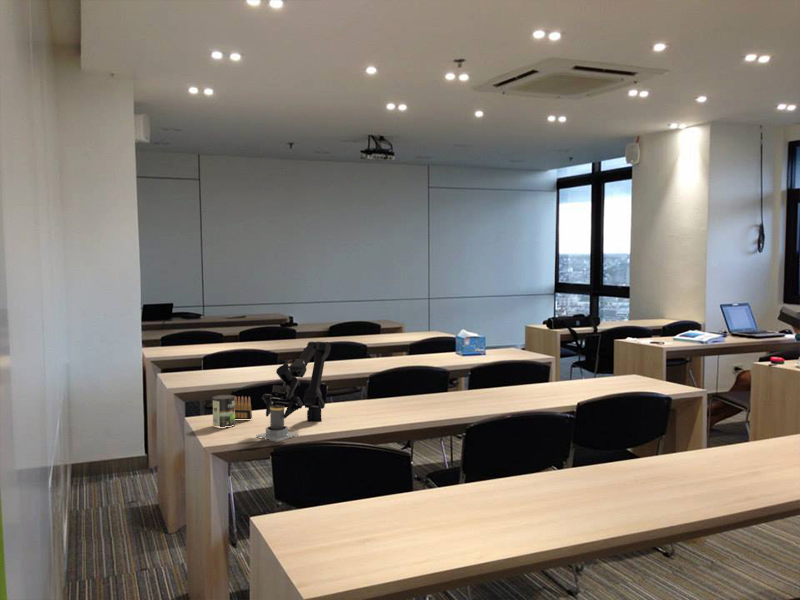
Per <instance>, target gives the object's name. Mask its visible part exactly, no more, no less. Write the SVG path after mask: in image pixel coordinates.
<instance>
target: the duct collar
mask: <svg viewBox="0 0 800 600" xmlns="http://www.w3.org/2000/svg"><path fill="white" fill-rule="evenodd" d="M295 435H298V433H296V432H291V431H289V427H288V425H284V429H282V430H270V425H269V426H266V427H265V432H263V433H260V434H257V435H255V437H256V436H257V437H262V438H266V439H269V440H268V441H272V442H275V443H277V442H281V441H284V440H287V439H290V438H289V437H291V436H294V437H296V436H295ZM298 436H299V435H298ZM257 437H256V438H257ZM262 438H261V439H262ZM291 438H292V437H291ZM266 439H265V440H266Z"/></svg>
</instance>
